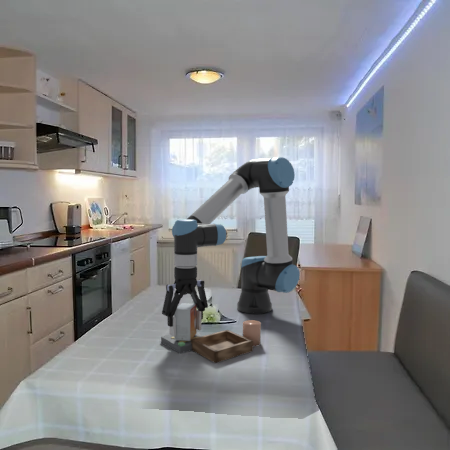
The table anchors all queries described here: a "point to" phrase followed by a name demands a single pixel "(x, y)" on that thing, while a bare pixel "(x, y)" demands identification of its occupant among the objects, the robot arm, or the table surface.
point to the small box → (185, 321)
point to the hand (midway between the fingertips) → (185, 332)
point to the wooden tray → (221, 345)
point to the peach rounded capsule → (252, 331)
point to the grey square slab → (178, 343)
